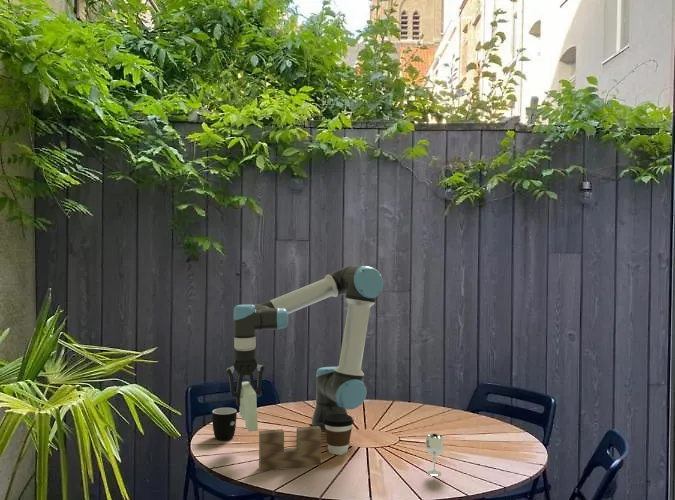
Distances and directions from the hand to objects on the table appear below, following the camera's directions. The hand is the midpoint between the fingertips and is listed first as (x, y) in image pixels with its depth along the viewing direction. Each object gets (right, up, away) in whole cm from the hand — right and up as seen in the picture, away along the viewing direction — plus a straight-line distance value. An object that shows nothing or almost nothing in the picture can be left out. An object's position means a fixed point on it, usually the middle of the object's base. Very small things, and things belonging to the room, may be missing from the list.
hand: (246, 414), depth 216 cm
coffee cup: (+32, -13, -2) cm, 35 cm away
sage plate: (+2, -1, -5) cm, 6 cm away
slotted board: (+17, -13, -16) cm, 27 cm away
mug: (-10, -12, +13) cm, 20 cm away
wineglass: (+63, -13, -21) cm, 68 cm away
